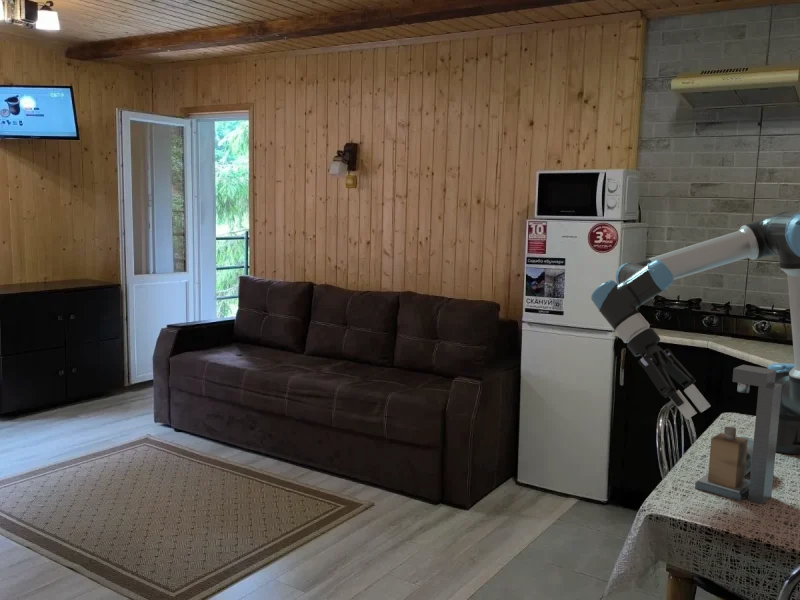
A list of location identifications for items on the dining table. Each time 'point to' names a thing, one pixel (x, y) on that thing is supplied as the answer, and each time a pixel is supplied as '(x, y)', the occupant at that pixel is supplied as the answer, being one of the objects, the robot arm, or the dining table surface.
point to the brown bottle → (727, 458)
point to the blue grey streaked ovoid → (748, 455)
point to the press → (755, 437)
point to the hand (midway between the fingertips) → (699, 412)
